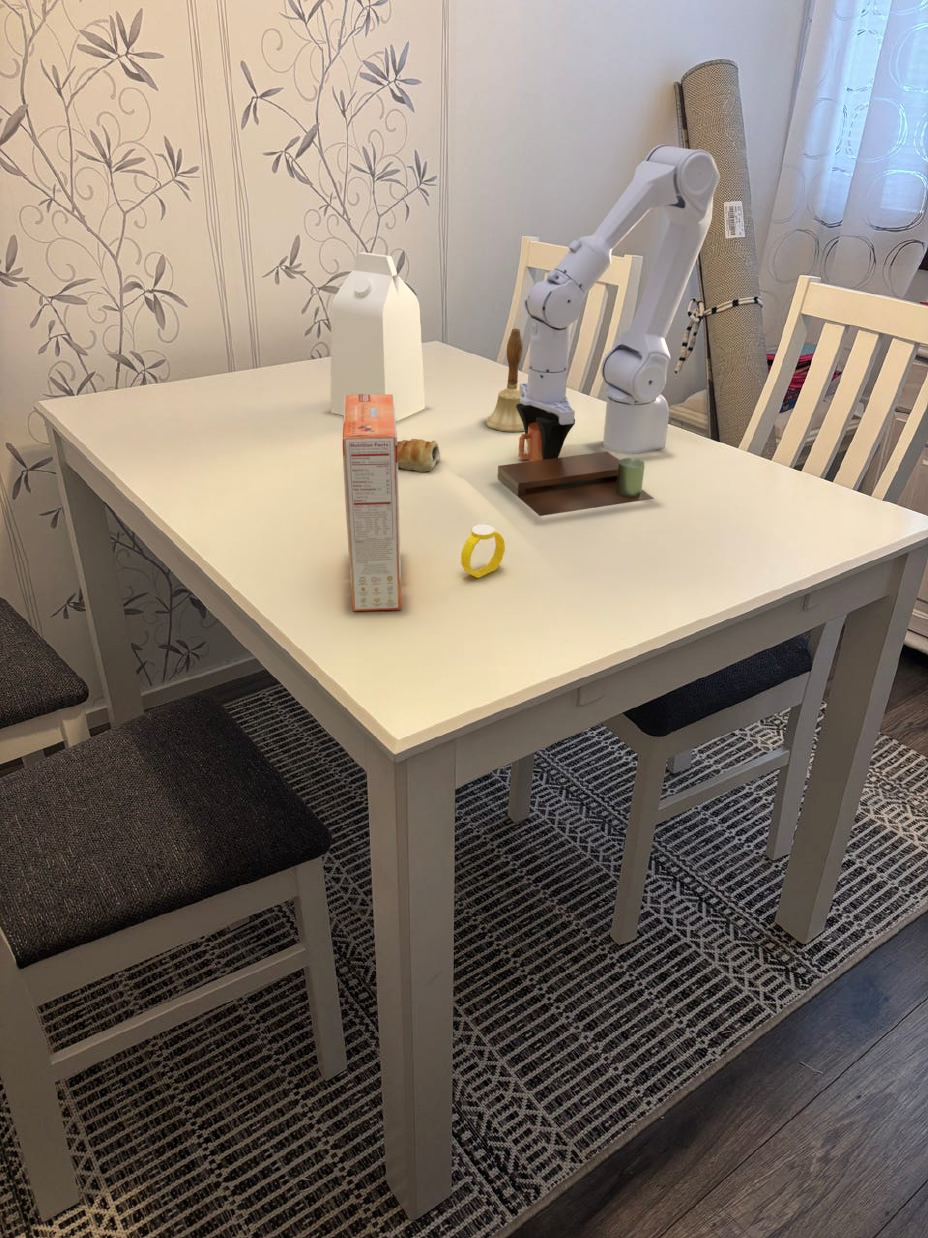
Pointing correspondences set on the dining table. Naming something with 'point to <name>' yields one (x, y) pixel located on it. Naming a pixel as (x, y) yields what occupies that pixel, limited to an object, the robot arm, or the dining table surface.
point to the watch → (476, 534)
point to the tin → (630, 477)
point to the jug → (531, 443)
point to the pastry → (417, 454)
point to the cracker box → (372, 501)
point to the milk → (376, 337)
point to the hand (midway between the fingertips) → (542, 455)
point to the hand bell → (509, 391)
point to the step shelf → (566, 483)
